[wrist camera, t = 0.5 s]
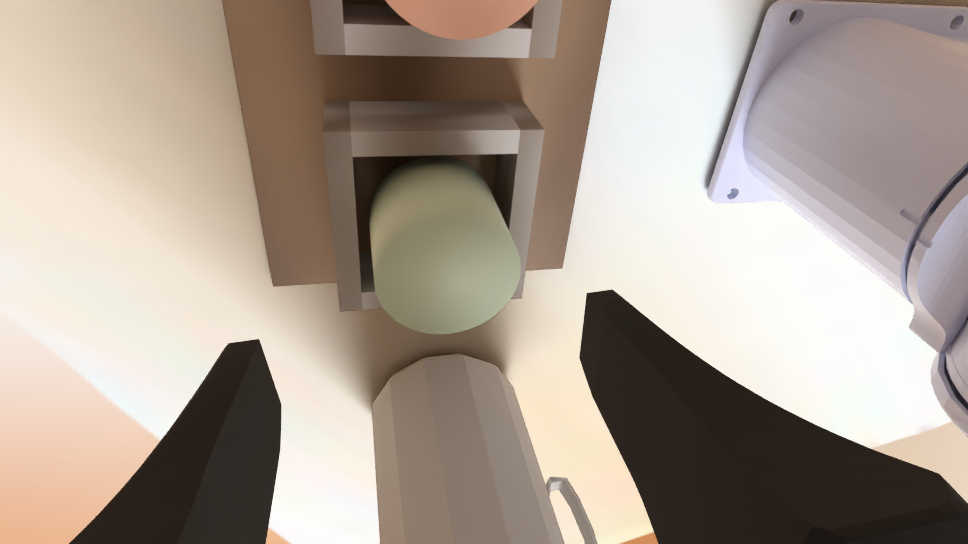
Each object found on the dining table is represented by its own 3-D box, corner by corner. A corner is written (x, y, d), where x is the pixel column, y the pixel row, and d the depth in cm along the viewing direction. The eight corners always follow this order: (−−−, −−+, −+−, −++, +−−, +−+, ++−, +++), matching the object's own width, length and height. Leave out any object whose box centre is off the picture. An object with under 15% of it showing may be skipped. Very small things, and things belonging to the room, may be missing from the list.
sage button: (499, 155, 19) (528, 211, 16) (488, 262, 22) (513, 328, 19) (365, 157, 18) (371, 217, 15) (371, 269, 21) (377, 339, 18)
